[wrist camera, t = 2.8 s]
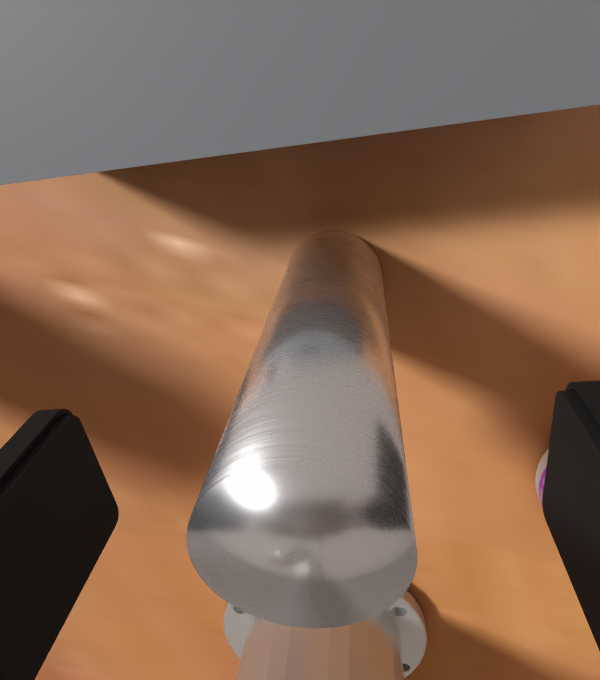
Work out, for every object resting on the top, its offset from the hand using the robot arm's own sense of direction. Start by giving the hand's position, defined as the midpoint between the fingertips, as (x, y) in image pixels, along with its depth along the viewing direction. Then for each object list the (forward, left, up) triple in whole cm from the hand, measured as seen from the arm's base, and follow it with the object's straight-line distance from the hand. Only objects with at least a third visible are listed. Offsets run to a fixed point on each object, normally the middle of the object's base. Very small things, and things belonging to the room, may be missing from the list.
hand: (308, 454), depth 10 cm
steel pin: (-1, 0, -12) cm, 12 cm away
